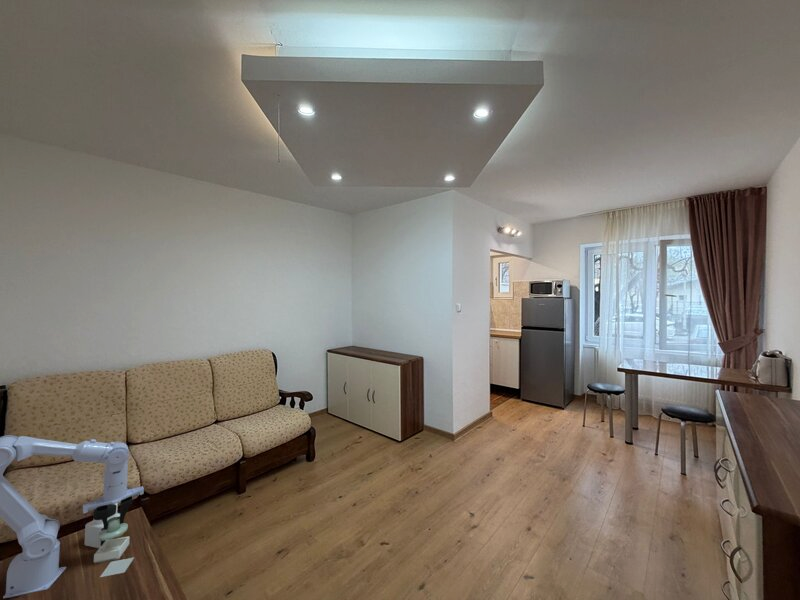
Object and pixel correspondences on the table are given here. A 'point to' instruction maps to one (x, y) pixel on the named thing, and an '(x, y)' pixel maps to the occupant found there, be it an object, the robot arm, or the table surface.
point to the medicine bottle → (98, 527)
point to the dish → (111, 549)
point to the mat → (117, 567)
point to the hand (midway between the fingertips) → (113, 525)
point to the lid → (113, 529)
